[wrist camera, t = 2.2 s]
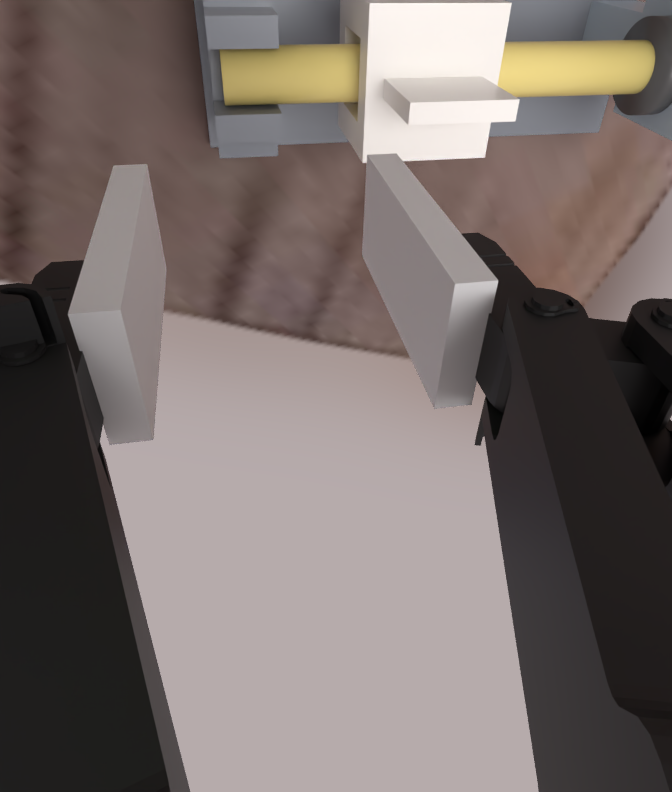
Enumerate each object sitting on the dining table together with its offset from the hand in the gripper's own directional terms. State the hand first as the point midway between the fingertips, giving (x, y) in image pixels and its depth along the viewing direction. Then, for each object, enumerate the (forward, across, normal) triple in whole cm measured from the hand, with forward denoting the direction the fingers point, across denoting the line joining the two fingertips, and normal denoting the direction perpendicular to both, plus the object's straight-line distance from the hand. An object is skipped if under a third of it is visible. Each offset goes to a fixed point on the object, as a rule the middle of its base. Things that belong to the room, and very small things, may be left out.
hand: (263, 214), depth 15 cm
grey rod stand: (+25, +12, 0) cm, 27 cm away
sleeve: (+19, +9, 0) cm, 21 cm away
